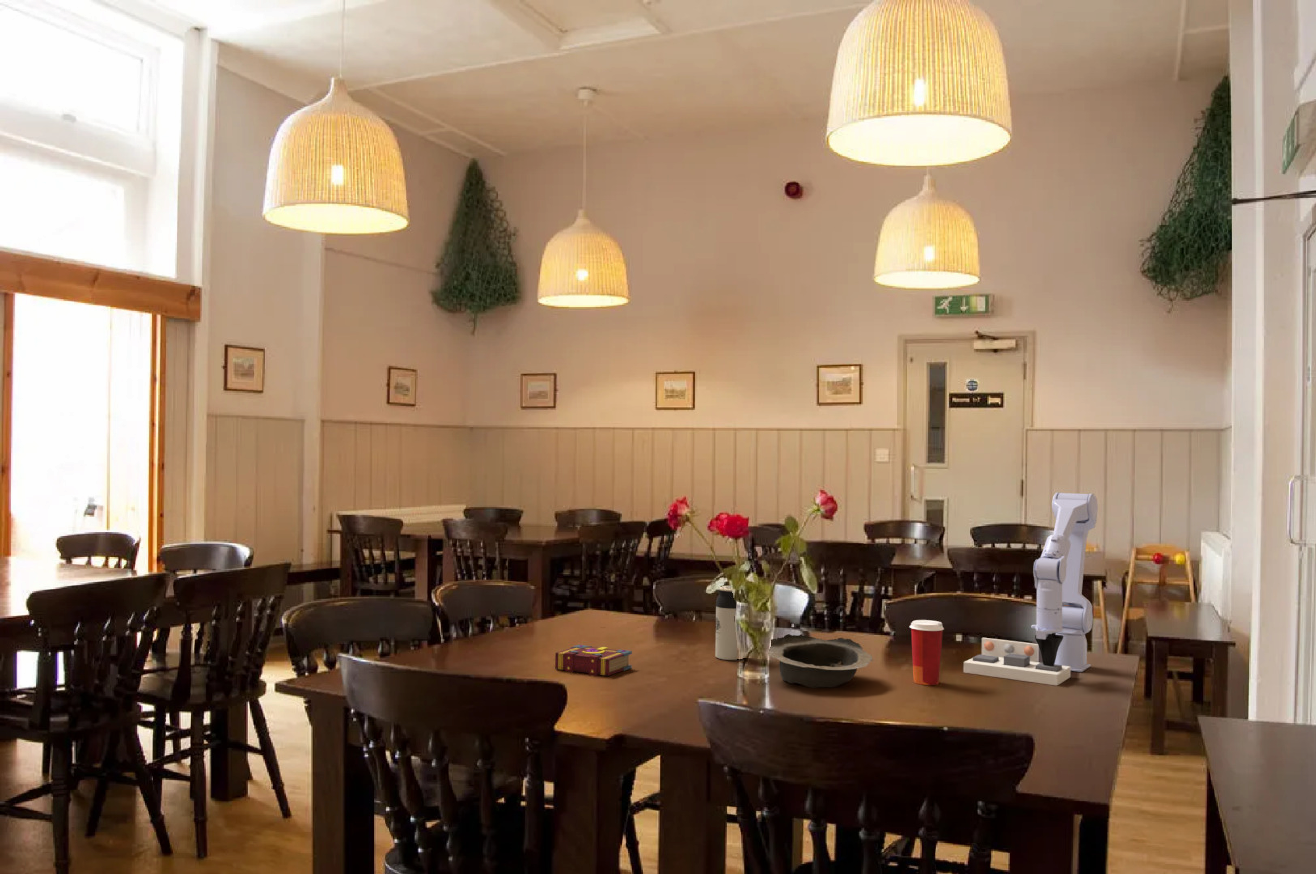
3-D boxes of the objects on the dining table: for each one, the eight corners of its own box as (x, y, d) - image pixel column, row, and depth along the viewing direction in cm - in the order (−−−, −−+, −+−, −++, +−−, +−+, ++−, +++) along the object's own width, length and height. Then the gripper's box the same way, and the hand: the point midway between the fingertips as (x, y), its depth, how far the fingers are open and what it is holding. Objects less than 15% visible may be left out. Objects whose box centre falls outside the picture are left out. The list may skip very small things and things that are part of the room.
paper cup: (947, 681, 239) (947, 621, 239) (938, 688, 233) (938, 626, 233) (914, 677, 243) (914, 618, 243) (904, 683, 237) (905, 622, 237)
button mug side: (979, 666, 256) (979, 654, 256) (998, 668, 253) (998, 657, 253) (972, 669, 252) (973, 657, 252) (992, 671, 249) (992, 659, 249)
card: (982, 660, 265) (983, 637, 265) (1038, 668, 256) (1038, 644, 257) (980, 661, 264) (981, 638, 264) (1036, 669, 255) (1037, 645, 255)
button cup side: (1041, 674, 247) (1041, 662, 247) (1061, 677, 244) (1061, 665, 245) (1035, 677, 243) (1035, 665, 243) (1056, 680, 241) (1056, 668, 241)
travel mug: (746, 655, 266) (747, 586, 267) (746, 661, 259) (747, 590, 259) (716, 654, 267) (717, 585, 268) (714, 660, 259) (715, 589, 260)
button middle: (1009, 665, 252) (1009, 653, 252) (1029, 667, 249) (1029, 655, 249) (1003, 668, 248) (1003, 656, 248) (1023, 671, 245) (1024, 658, 245)
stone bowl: (798, 664, 255) (801, 627, 255) (889, 688, 239) (893, 649, 239) (741, 678, 236) (745, 638, 236) (836, 705, 220) (840, 662, 220)
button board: (979, 664, 260) (979, 654, 260) (1070, 677, 247) (1070, 666, 247) (963, 672, 250) (963, 662, 250) (1057, 685, 237) (1057, 674, 237)
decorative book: (608, 678, 238) (608, 656, 238) (549, 670, 245) (550, 649, 245) (631, 669, 248) (632, 648, 248) (574, 662, 255) (575, 642, 255)
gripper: (1040, 603, 252) (1039, 658, 252) (1023, 610, 241) (1022, 668, 240) (1070, 606, 248) (1069, 662, 248) (1054, 613, 237) (1053, 672, 236)
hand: (1048, 665), depth 244 cm, fingers closed, pressing on button cup side
